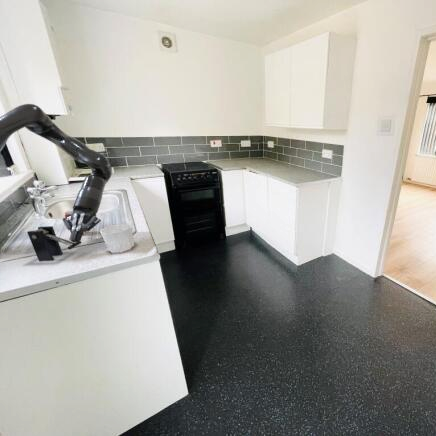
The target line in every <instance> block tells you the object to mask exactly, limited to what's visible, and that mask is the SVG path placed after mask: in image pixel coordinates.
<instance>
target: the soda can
mask: <svg viewBox="0 0 436 436" xmlns="http://www.w3.org/2000/svg"><path fill="white" fill-rule="evenodd" d="M72 212H73V209H72V210H67V211H65V212H64V218H68V217H70V216H71V213H72ZM72 222H73V220H72ZM76 229H77V228H76ZM69 232H70V235H71V234H72V231H70V230H69ZM86 234H87V231H85V232H84V233H83V234H82V236H84V235H86Z"/></svg>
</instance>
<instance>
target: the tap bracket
mask: <svg viewBox="0 0 436 436" xmlns="http://www.w3.org/2000/svg"><path fill="white" fill-rule="evenodd" d="M40 228H42V229H44V230H47V231H49V234H51V235H53V236H56V237H57V235H56V232H55V229H54V226H52V225H50V226H49V225H48V226H46V225H45V226H38V227H37V230H38V229H40ZM26 233H27V236H28V238H29V240H30V243H31V245H32V248H33V250H34V252H35V255H36V256H37V259H38V262H52V261H54V260H55V258H54V257H55V256H56V257H57V256H59V257H60V256H61V257H62V256H63V255H64V253H63V250H62V248H61V245H60V242H58V241H55V240H52V239H49V238H47V237H46V238H45V235H44V233H43V231H35V230H27V232H26Z"/></svg>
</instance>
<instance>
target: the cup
mask: <svg viewBox="0 0 436 436" xmlns="http://www.w3.org/2000/svg"><path fill="white" fill-rule="evenodd" d="M99 232H100V234H101V237H102V239H103V241H104V243H105V246H106V248H107V251H108V252H111V254H115V253H116V254H117V253H123V252H126V251H129V250H131V249H132V247H135V241H134V234H133V228H132V224H130V223H116V224H111V225H108V226H105V227H103V228H102V229H100V231H99Z"/></svg>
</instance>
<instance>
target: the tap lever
mask: <svg viewBox="0 0 436 436" xmlns="http://www.w3.org/2000/svg"><path fill="white" fill-rule="evenodd" d="M34 231H43V233H44V235H45V238H46V237H47V238H49V239H52V240H55V241H58V242H59V243H62V244H64V245H67V249H68V250H72V249H74V248H76V247H77V246H79V245H81V244H82V241H81V240H80V241H79V242H72V241H70V240H67V239H65V238H62V237H59V236H57V235H56V236H53V235H51V234H49V231H47V230H44V229H42V228H40V229H38V228H37V229H36V230H34Z"/></svg>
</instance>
